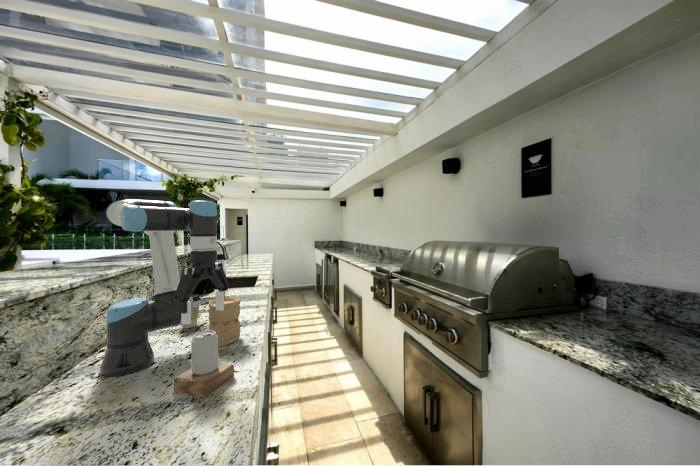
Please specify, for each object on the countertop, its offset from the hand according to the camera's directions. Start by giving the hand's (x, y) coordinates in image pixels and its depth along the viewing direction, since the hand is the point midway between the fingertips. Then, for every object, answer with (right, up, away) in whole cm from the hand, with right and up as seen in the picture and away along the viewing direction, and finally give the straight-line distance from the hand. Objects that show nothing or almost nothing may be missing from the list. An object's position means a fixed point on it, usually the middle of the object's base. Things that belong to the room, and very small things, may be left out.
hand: (204, 316), depth 87 cm
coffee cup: (-36, -21, +53) cm, 67 cm away
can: (0, -18, 0) cm, 18 cm away
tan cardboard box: (0, -22, 0) cm, 22 cm away
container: (-9, -21, +34) cm, 41 cm away
